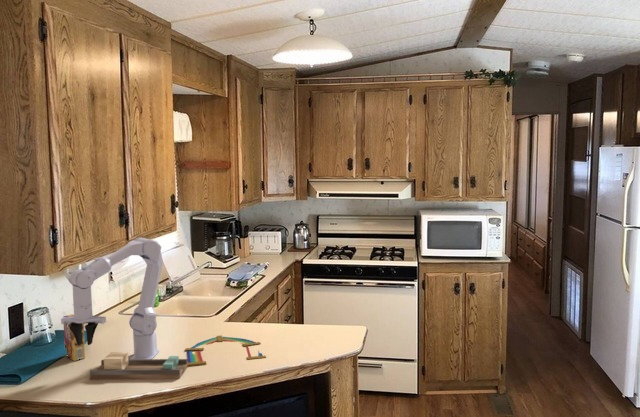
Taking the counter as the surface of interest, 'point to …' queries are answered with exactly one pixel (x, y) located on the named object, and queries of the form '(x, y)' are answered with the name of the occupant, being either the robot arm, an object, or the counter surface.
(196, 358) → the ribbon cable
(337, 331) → the counter surface
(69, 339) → the candy box
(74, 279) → the robot arm
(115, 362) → the beige box
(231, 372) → the counter surface
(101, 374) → the guide track
